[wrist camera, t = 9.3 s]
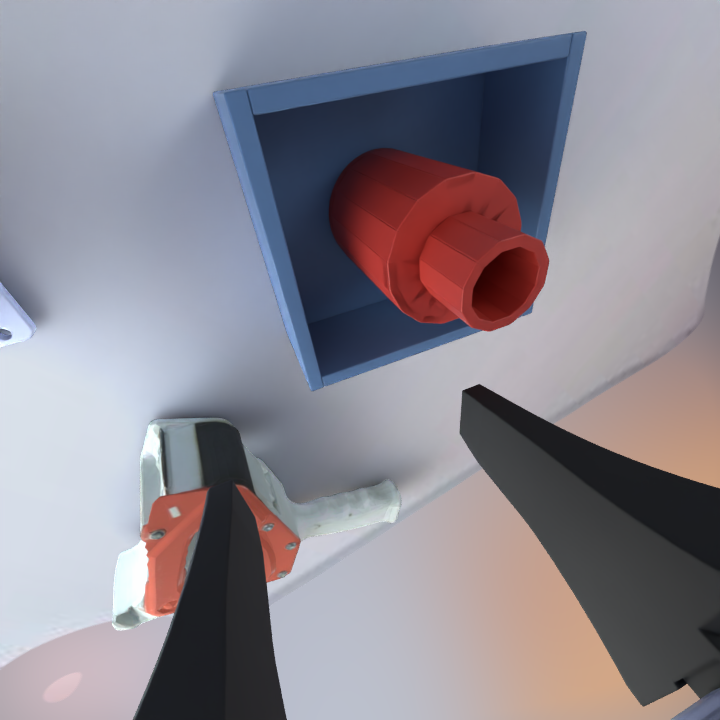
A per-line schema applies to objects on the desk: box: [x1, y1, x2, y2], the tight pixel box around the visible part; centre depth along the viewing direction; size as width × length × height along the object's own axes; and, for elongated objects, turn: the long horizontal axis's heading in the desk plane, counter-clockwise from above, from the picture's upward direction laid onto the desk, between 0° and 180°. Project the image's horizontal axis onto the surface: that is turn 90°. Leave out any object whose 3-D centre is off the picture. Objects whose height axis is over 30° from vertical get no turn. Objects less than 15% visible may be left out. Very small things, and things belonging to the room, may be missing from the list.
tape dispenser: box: [112, 418, 401, 630], centre depth 25 cm, size 18×5×20 cm
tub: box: [213, 31, 587, 391], centre depth 16 cm, size 12×11×5 cm
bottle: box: [329, 148, 549, 331], centre depth 14 cm, size 5×5×9 cm
